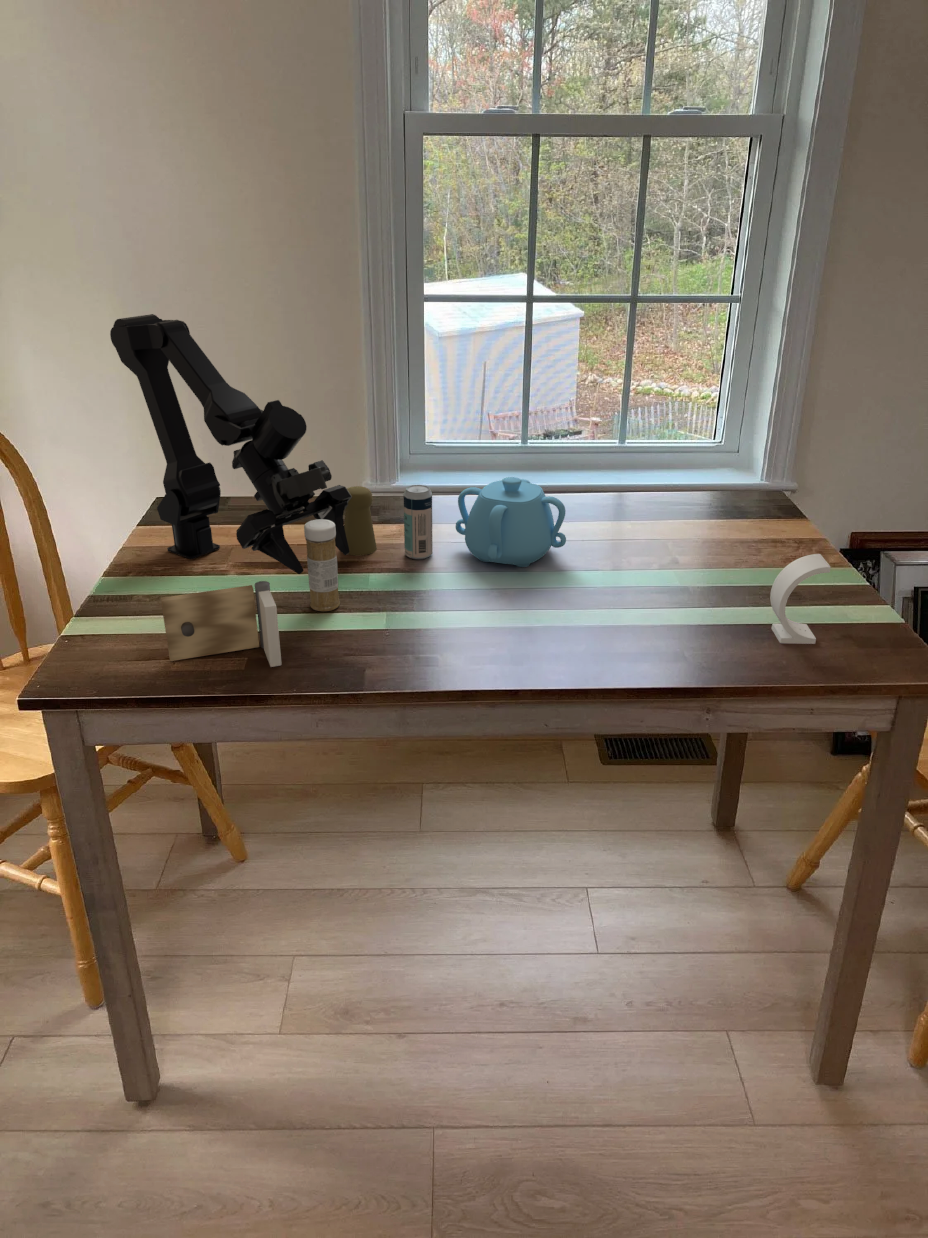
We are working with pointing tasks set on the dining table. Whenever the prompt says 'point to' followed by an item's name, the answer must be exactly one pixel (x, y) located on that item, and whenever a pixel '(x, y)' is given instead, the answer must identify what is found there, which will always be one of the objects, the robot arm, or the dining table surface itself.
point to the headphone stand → (784, 587)
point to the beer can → (418, 521)
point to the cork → (359, 522)
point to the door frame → (268, 623)
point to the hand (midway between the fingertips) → (325, 563)
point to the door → (210, 622)
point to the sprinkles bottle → (322, 564)
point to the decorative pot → (510, 522)
